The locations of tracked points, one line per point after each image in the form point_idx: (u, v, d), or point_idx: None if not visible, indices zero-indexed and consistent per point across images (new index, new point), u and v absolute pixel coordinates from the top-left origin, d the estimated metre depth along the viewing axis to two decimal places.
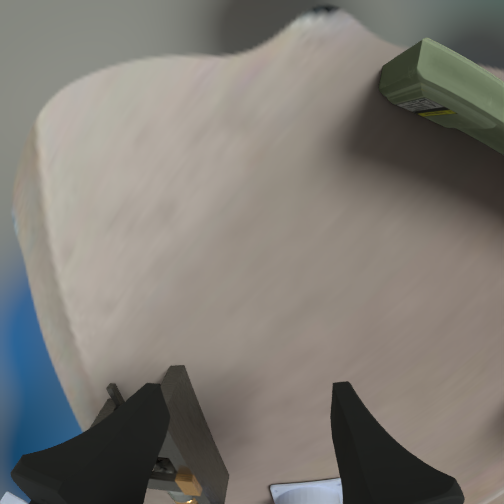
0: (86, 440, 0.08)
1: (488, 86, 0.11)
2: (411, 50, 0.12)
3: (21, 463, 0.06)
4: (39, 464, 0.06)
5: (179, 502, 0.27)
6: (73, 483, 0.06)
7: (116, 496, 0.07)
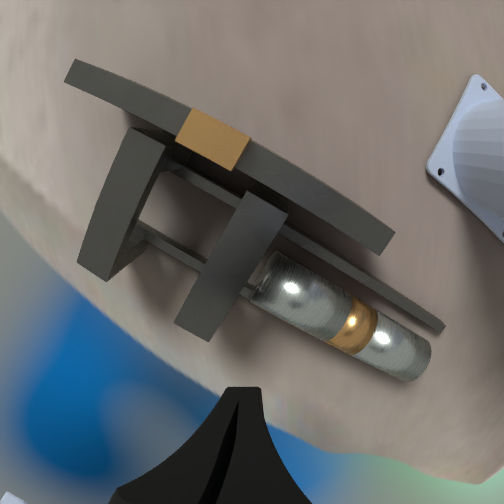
0: (187, 458, 0.08)
1: None
2: None
3: (123, 499, 0.05)
4: (146, 497, 0.06)
5: (333, 337, 0.17)
6: None
7: None
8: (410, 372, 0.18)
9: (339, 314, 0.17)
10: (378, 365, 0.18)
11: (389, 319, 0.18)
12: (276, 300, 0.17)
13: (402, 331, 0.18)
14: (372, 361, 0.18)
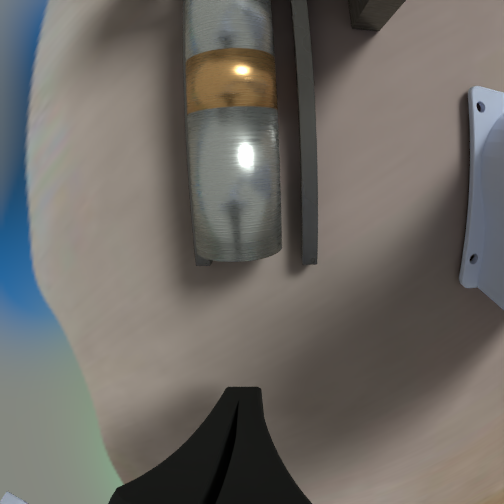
0: (187, 458, 0.08)
1: None
2: None
3: (122, 499, 0.05)
4: (146, 497, 0.06)
5: (204, 52, 0.09)
6: None
7: None
8: (222, 236, 0.11)
9: (245, 34, 0.09)
10: (199, 167, 0.10)
11: (278, 139, 0.11)
12: None
13: (275, 170, 0.11)
14: (199, 149, 0.10)
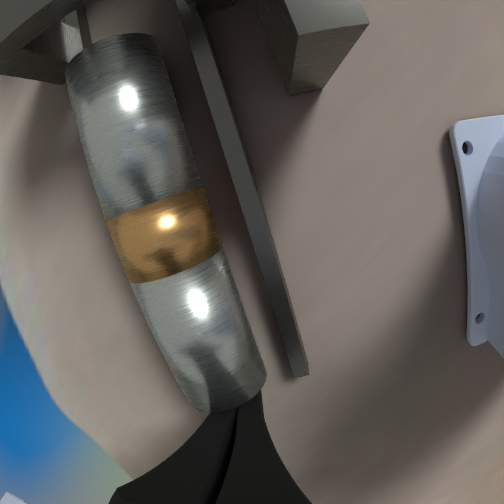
0: (188, 458, 0.08)
1: None
2: None
3: (123, 499, 0.05)
4: (146, 497, 0.06)
5: (115, 217, 0.08)
6: None
7: None
8: (200, 394, 0.10)
9: (151, 181, 0.08)
10: (157, 337, 0.10)
11: (230, 281, 0.10)
12: (86, 81, 0.07)
13: (236, 318, 0.10)
14: (150, 321, 0.09)
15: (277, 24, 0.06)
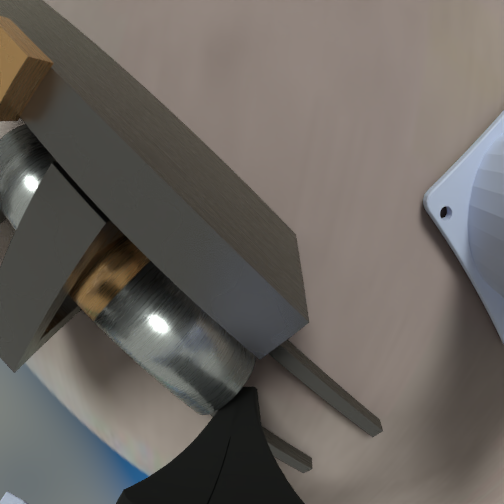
0: (194, 459, 0.08)
1: None
2: None
3: (130, 501, 0.05)
4: (154, 498, 0.06)
5: None
6: None
7: None
8: (197, 396, 0.10)
9: None
10: (135, 359, 0.10)
11: None
12: None
13: (192, 312, 0.10)
14: (123, 346, 0.10)
15: None
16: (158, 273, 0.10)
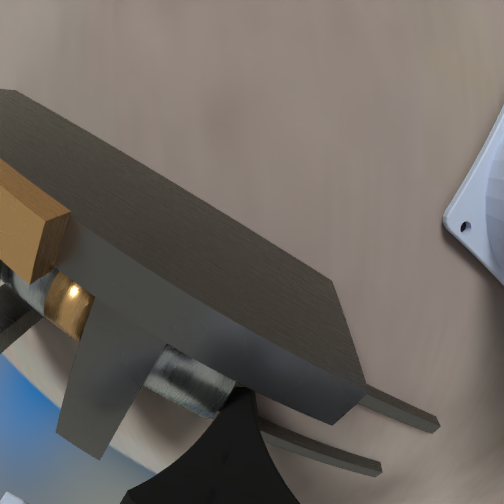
0: (197, 459, 0.08)
1: None
2: None
3: (134, 502, 0.05)
4: (158, 499, 0.06)
5: (44, 307, 0.09)
6: None
7: None
8: (195, 398, 0.10)
9: None
10: None
11: None
12: None
13: None
14: None
15: None
16: None
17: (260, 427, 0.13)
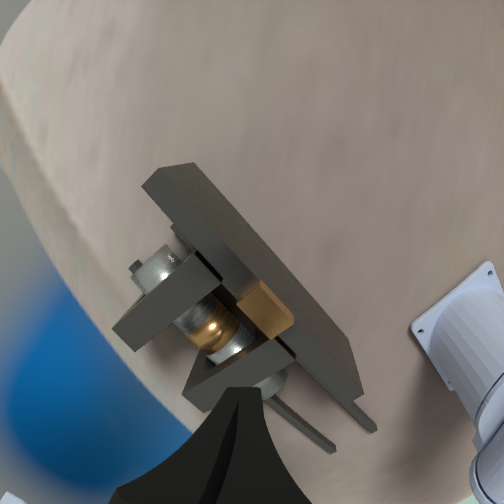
0: (187, 458, 0.08)
1: None
2: None
3: (122, 499, 0.05)
4: (146, 497, 0.06)
5: (185, 335, 0.20)
6: None
7: None
8: None
9: (191, 321, 0.19)
10: None
11: (247, 343, 0.20)
12: (143, 288, 0.19)
13: None
14: None
15: None
16: (239, 340, 0.20)
17: (281, 405, 0.24)
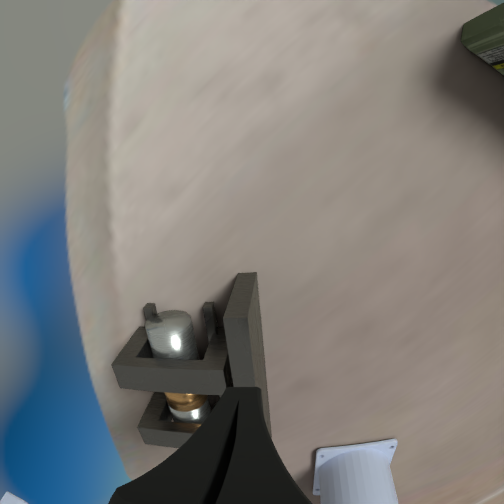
0: (187, 458, 0.08)
1: None
2: (500, 6, 0.10)
3: (122, 499, 0.05)
4: (146, 497, 0.06)
5: None
6: None
7: None
8: None
9: None
10: (173, 419, 0.23)
11: (205, 414, 0.23)
12: (154, 345, 0.20)
13: None
14: (172, 415, 0.23)
15: None
16: (201, 411, 0.22)
17: None
